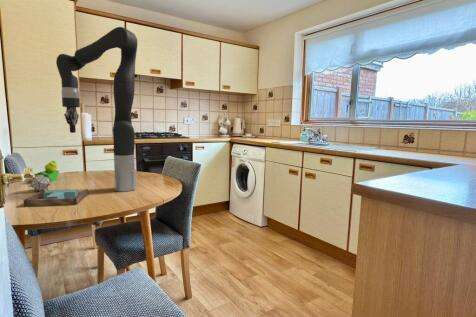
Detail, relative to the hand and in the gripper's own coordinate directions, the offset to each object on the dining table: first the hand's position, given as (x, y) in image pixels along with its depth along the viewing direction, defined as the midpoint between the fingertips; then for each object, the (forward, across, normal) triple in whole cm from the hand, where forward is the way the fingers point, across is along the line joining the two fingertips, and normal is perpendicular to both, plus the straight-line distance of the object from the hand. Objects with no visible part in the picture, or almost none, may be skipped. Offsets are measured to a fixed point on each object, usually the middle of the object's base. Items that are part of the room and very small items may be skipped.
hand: (72, 132), depth 143 cm
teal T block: (+27, -27, -2) cm, 38 cm away
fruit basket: (+27, +11, +17) cm, 34 cm away
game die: (+27, -10, +12) cm, 31 cm away
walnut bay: (+27, -27, -2) cm, 38 cm away
